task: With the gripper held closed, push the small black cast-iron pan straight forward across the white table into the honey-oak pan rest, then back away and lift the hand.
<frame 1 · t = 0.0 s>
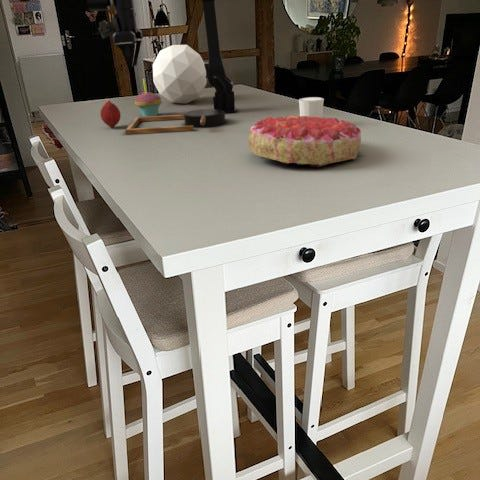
hand: (132, 67, 163), 15 cm above the table, tool pointing down, fingers open, 9 cm apart
cake: (303, 156, 117), on the table
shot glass: (310, 126, 144), on the table
pan: (205, 123, 155), on the table
geometric orb: (182, 103, 191), on the table
cupcake: (149, 116, 170), on the table
pan rest: (161, 125, 155), on the table
onion: (112, 128, 156), on the table
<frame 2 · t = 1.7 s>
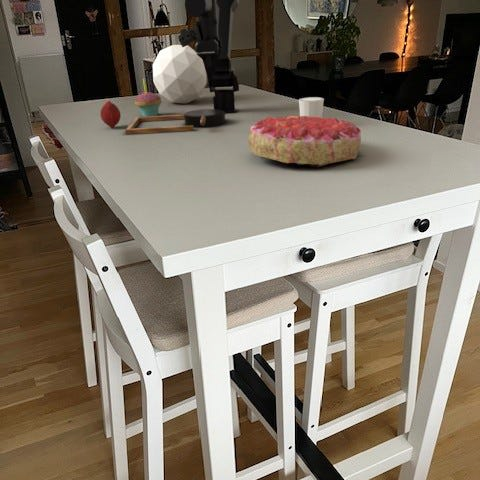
hand: (211, 77, 152), 12 cm above the table, tool pointing down, fingers open, 9 cm apart
nothing on the table moved.
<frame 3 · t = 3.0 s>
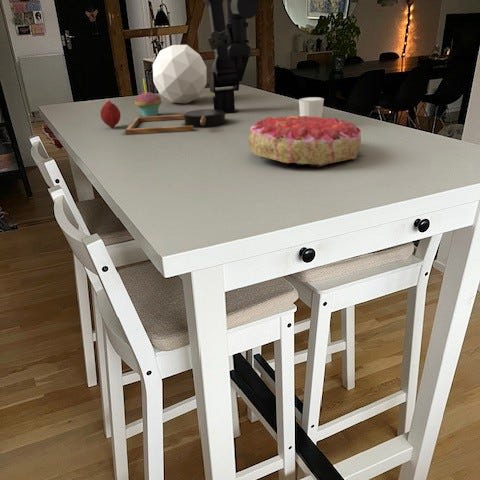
hand: (239, 81, 149), 11 cm above the table, tool pointing down, fingers closed
nothing on the table moved.
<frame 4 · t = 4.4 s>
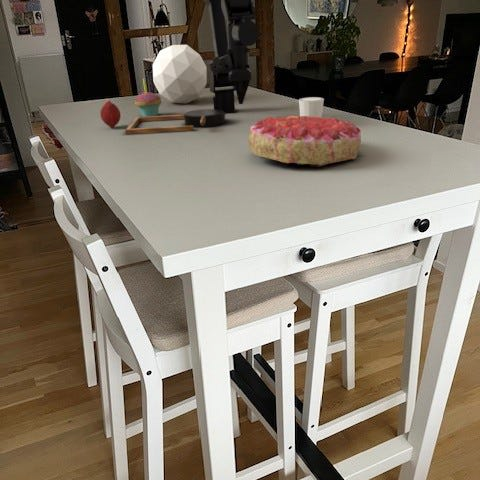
hand: (240, 104, 152), 5 cm above the table, tool pointing down, fingers closed
nothing on the table moved.
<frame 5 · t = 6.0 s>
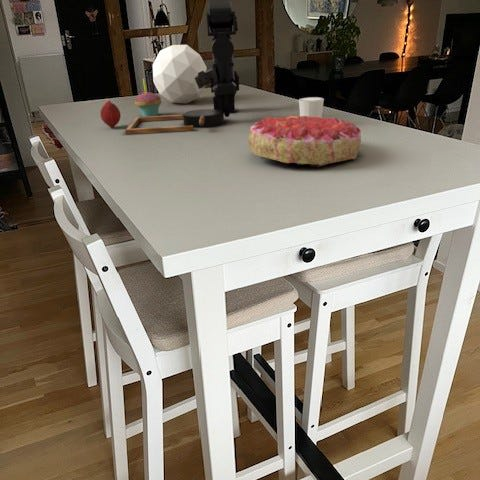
hand: (227, 116, 154), 2 cm above the table, tool pointing down, fingers closed, pressing on pan
pan: (204, 123, 155), on the table, touching gripper
everything else where it was.
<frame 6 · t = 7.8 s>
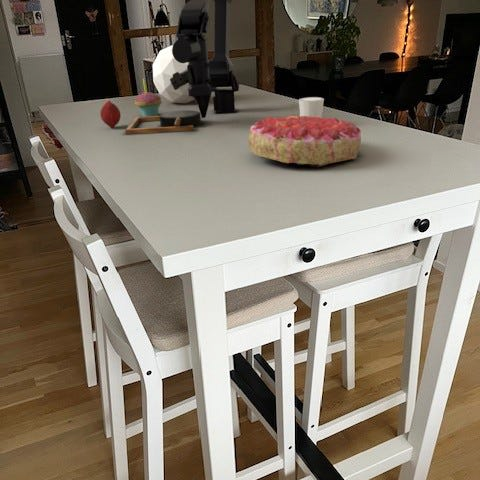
hand: (203, 117, 154), 2 cm above the table, tool pointing down, fingers closed, pressing on pan
pan: (180, 124, 155), on the table, touching gripper
everything else where it was.
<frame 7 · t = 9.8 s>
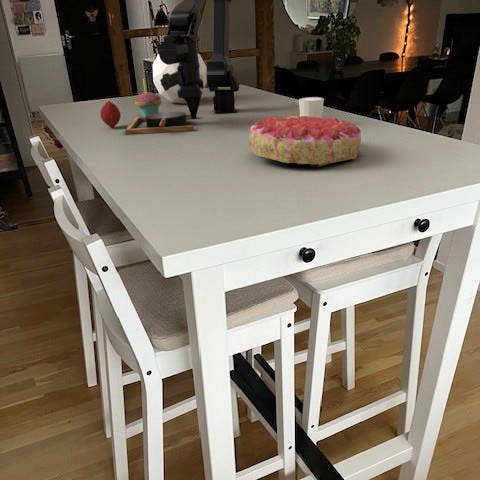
hand: (193, 118, 154), 1 cm above the table, tool pointing down, fingers closed
pan: (167, 125, 155), on the table
everything else where it was.
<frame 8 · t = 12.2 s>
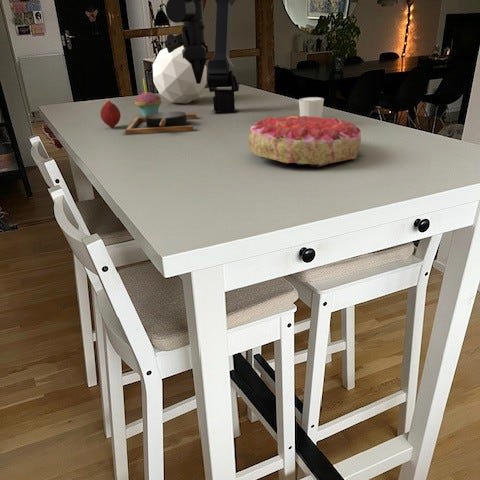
hand: (198, 83, 149), 11 cm above the table, tool pointing down, fingers closed
nothing on the table moved.
at the end: pan inside the target area on the pan rest (1.0 cm from its centre), point 0.0 cm above the pan rest's base; pan tilted 0° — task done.
